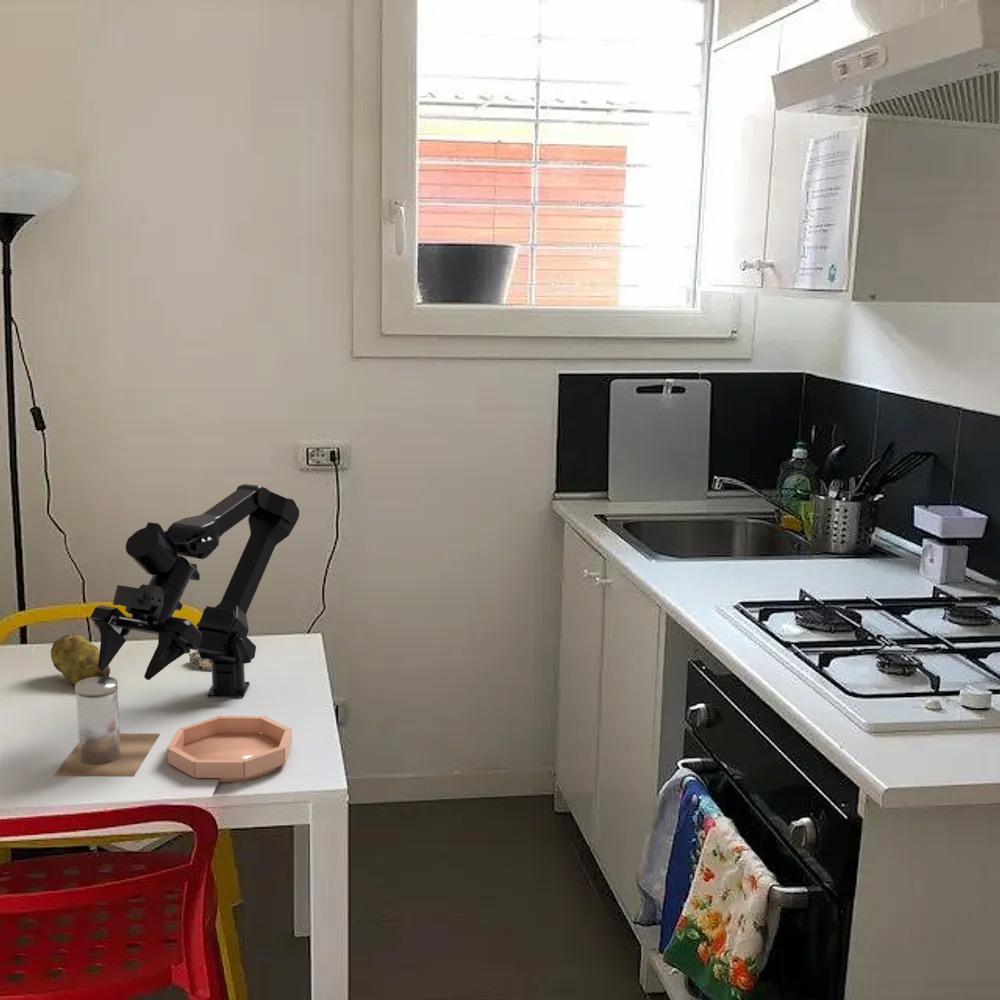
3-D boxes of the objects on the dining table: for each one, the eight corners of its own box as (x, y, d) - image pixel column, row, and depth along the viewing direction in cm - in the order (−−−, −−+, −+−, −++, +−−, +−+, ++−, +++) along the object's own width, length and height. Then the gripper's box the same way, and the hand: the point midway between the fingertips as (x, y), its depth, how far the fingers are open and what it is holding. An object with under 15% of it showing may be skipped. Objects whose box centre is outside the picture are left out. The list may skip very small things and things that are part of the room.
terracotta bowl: (186, 735, 200) (185, 715, 199) (297, 736, 201) (296, 716, 200) (159, 784, 183) (158, 762, 182) (280, 784, 183) (279, 762, 182)
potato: (67, 696, 216) (64, 653, 215) (47, 674, 227) (45, 633, 225) (114, 687, 221) (112, 645, 219) (93, 666, 231) (90, 626, 230)
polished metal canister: (86, 748, 193) (82, 676, 190) (126, 748, 193) (122, 676, 190) (74, 764, 187) (69, 690, 184) (115, 765, 187) (110, 691, 184)
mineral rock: (187, 662, 228) (189, 638, 235) (188, 681, 230) (189, 657, 237) (246, 661, 230) (246, 637, 237) (246, 680, 232) (246, 656, 239)
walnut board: (86, 737, 199) (86, 733, 199) (160, 738, 199) (160, 733, 199) (53, 780, 183) (53, 775, 183) (134, 781, 183) (133, 776, 183)
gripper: (94, 557, 198) (48, 642, 190) (188, 571, 191) (144, 659, 183) (129, 591, 207) (87, 674, 199) (220, 606, 199) (180, 692, 192)
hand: (123, 674), depth 193 cm, fingers open, 9 cm apart
